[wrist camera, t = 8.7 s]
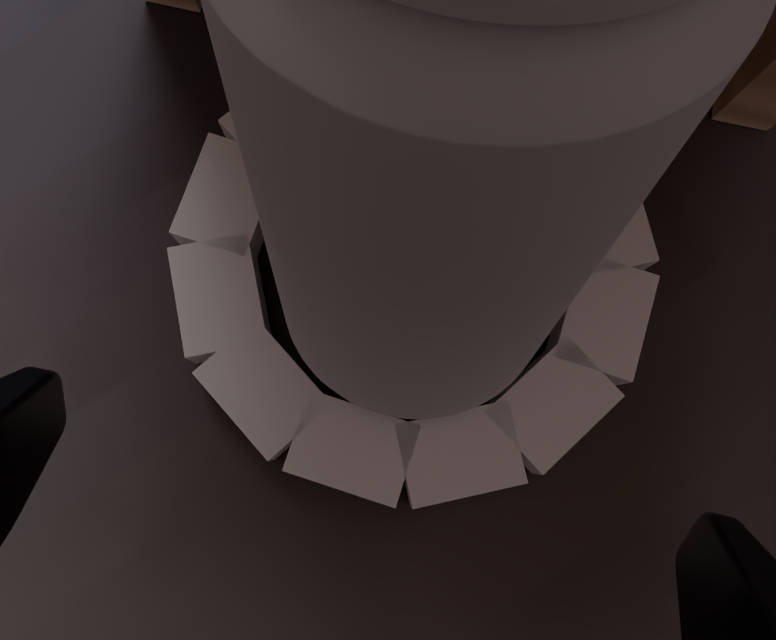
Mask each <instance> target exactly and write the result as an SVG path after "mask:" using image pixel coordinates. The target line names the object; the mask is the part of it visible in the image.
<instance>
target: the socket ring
mask: <svg viewBox="0 0 776 640" xmlns="http://www.w3.org/2000/svg"><path fill="white" fill-rule="evenodd" d="M218 122H219V124H220V126H221V128H222V130H223V132H224V135H225V137H226V138H225V137H222V136H218V135H215V134H212V133H208V135H207V138H206V140H205V143H204V145H203V148H202V150H201V153H200V155H199V158H198V160H197V163H196V165H195V168H194V170H193V173H192V175H191V177H190V180H189V182H188V185H187V187H186V190H185V192H184V195H183V197H182V200H181V202H180V205H179V207H178V210H177V212H176V215H175V217H174V220H173V222H172V225H171V227H170V230H169V233H170V234H171V235H172V236H173V237H174V238H175V239H176V240H177V241H178V242H179V244H180V245H178V246H173V247H168V248H167V252H168V258H169V264H170V270H171V277H172V283H173V289H174V295H175V301H176V307H177V313H178V319H179V326H180V332H181V338H182V344H183V350H184V356H185V358H186V359H188V360H191V361H193V362H195V363H197V364H198V363H202V362H204V363H203V364H201V365H200V366H199V367H198V368H197V369H196V370H194V371H193V372H192V374H193V375H194V376H195V377H196V378H197V380H198V381H199V382H200V383H201V384H202V385H203V387H204V388H205V389H206V390H207V391H208V392H209V394H210V395H211V396H212V397H213V398H214V399H215V401H216V402H217V403H218V404H219V405H220V406H221V408H222V409H223V410H224V411H225V412H226V413H227V415H228V416H229V417H230V418H231V419H232V420H233V422H234V423H235V424H236V425H237V426H238V427H239V429H240V430H241V431H242V432H243V433H244V434H245V436H246V437H247V438H248V439H249V440H250V441H251V443H252V444H253V445H254V446H255V447H256V448H257V450H258V451H259V452H260V453H261V454H262V455H263V457H264V458H265V459H266V460H267V461H272V460H275V459H276V458H277V457H278V456H280V455H281V454H282V453H283V452H284V451H285V450H286V449H287V448H289V447H290V449H289V451H288V454H287V457H286V460H285V463H284V466H283V469H282V471H284V472H287V473H290V474H293V475H296V476H299V477H302V478H305V479H308V480H311V481H314V482H317V483H320V484H323V485H326V486H329V487H332V488H335V489H338V490H341V491H344V492H347V493H350V494H353V495H356V496H359V497H362V498H365V499H368V500H371V501H374V502H377V503H380V504H383V505H386V506H389V507H392V508H395V509H396V505H397V502H398V499H399V496H400V493H401V489H402V486H403V483H404V481H405V485H406V490H407V495H408V499H409V504H410V506H411V507H412V509H417V508H421V507H426V506H430V505H434V504H439V503H443V502H448V501H452V500H457V499H461V498H465V497H470V496H474V495H479V494H483V493H488V492H492V491H497V490H501V489H505V488H510V487H514V486H519V485H523V484H528V480H527V476H526V471H525V467H526V468H527V469H528V470H529V471H530V472H531V473H534V474H539V475H544V474H545V473H546V472H547V471H548V470H549V469H550V468H551V467H552V466H553V465H554V464H555V463H556V462H557V461H558V460H559V459H560V458H562V457H563V456H564V455H565V454H566V453H567V452H568V451H569V450H570V449H571V448H572V447H573V446H574V445H575V444H576V443H577V442H578V441H579V440H580V439H581V438H582V437H583V436H584V435H585V434H586V433H587V432H588V431H589V430H590V429H591V428H592V427H593V426H594V425H596V424H597V423H598V422H599V421H600V420H601V419H602V418H603V417H604V416H605V415H606V414H607V413H608V412H609V411H610V410H611V409H612V408H613V407H614V406H615V405H616V404H617V403H618V402H619V401H620V400H621V399H622V398H623V397H624V396H625V395H624V394H623V393H622V392H621V391H620V390H619V389H618V388H617V387H616V386H617V385H621V384H626V383H631V382H633V380H634V376H635V372H636V368H637V364H638V360H639V356H640V353H641V349H642V345H643V341H644V337H645V333H646V329H647V325H648V321H649V317H650V313H651V309H652V305H653V302H654V298H655V294H656V290H657V286H658V282H659V278H660V276H659V275H656V274H653V273H650V272H647V271H643V270H645V269H646V268H648V267H650V266H651V265H653V264H655V263H656V262H658V261H659V256H658V253H657V249H656V246H655V242H654V239H653V236H652V232H651V229H650V225H649V222H648V218H647V215H646V212H645V208H644V205H643V203H642V205H641V206H640V207H639V209H638V210H637V212H636V213H635V214H634V216H633V217H632V219H631V220H630V221H629V223H628V224H627V226H626V227H625V228H624V230H623V231H622V233H621V234H620V235H619V237H618V238H617V240H616V241H615V242H614V244H613V245H612V247H611V248H610V249H609V251H608V252H607V254H606V255H605V256H604V258H603V259H602V261H601V262H600V263H599V265H598V266H597V268H596V269H595V270H594V272H593V273H592V275H591V276H590V277H589V279H588V280H587V282H586V283H585V284H584V286H583V287H582V289H581V290H580V291H579V293H578V294H577V296H576V297H575V298H574V300H573V301H572V303H571V304H570V305H569V307H568V308H567V310H566V311H565V312H564V314H563V315H562V317H561V318H560V319H559V321H558V322H557V324H556V325H555V326H554V328H553V329H552V331H551V332H550V335H549V338H548V342H547V345H546V349H545V351H544V352H543V353H542V354H541V355H540V356H539V357H537V358H536V359H535V360H534V361H533V362H532V363H531V364H530V365H529V366H528V367H527V368H526V369H525V370H524V371H522V372H521V373H520V374H519V376H518V377H517V378H516V379H515V380H514V381H513V382H512V383H511V384H510V385H509V386H508V387H507V388H505V389H504V390H503V391H502V392H501V393H499V394H498V395H497V396H496V397H495V398H494V399H493V400H491V401H490V402H489V403H488V404H487V405H483V406H478V407H475V408H473V409H470V410H468V411H465V412H462V413H459V414H456V415H452V416H447V417H441V418H434V419H418V420H413V421H409V422H408V421H405V420H402V419H399V418H395V417H391V416H386V415H382V414H378V413H375V412H372V411H369V410H367V409H364V408H362V407H359V406H357V405H355V404H353V403H350V402H347V401H344V400H340V399H337V398H334V397H331V396H328V395H325V394H323V393H322V392H321V391H320V390H319V388H318V387H317V386H316V385H315V384H314V383H313V382H312V381H311V379H310V378H309V377H308V376H307V375H306V374H305V373H304V371H303V370H302V369H301V368H300V367H299V366H298V365H297V364H296V362H295V361H294V360H293V359H292V358H291V357H290V356H289V354H288V353H287V352H286V351H285V350H284V349H283V348H282V347H281V345H280V344H279V343H278V342H277V341H276V340H275V339H274V338H273V336H272V334H271V329H270V324H269V318H268V313H267V308H266V302H265V297H264V291H263V286H262V281H261V275H260V270H259V265H258V259H257V257H258V254H259V251H260V249H261V246H262V243H263V241H264V237H263V233H262V230H261V226H260V222H259V218H258V215H257V211H256V207H255V203H254V200H253V196H252V192H251V188H250V185H249V181H248V177H247V173H246V170H245V166H244V162H243V158H242V155H241V151H240V147H239V143H238V140H237V136H236V132H235V128H234V125H233V121H232V117H231V113H230V111H229V112H228V113H226V114H225V115H224V116H222V117H221V118H220V119H219V120H218ZM524 466H525V467H524Z"/></svg>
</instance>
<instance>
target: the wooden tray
mask: <svg viewBox="0 0 776 640" xmlns="http://www.w3.org/2000/svg"><path fill="white" fill-rule="evenodd" d="M145 1H148V2H153V3H157V4H162V5H167V6H172V7H177V8H181V9H186V10H191V11H196V12H200V10H201V7H202V4H201V1H200V0H145ZM711 119H712V120H717V121H722V122H726V123H731V124H736V125H741V126H745V127H750V128H755V129H760V130H765V131H768V130H769V129H770V128H771V127H773V126H774V125H775V124H776V4H775V7H774V10H773V12H772V15H771V17H770V19H769V21H768V23H767V25H766V27H765V29H764V31H763V33H762V35H761V37H760V38H759V40H758V41H757V43H756V45H755V46H754V48H753V49H752V50H751V52H750V53H749V55H748V56H747V57H746V59H745V60H744V62H743V63H742V64H741V66H740V67H739V69H738V70H737V71H736V73H735V74H734V76H733V77H732V78H731V80H730V81H729V83H728V84H727V85H726V87H725V88H724V90H723V91H722V92H721V94H720V95H719V97H718V98H717V99H716V101H715V102H714V104H713V110H712V117H711Z"/></svg>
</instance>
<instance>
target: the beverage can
mask: <svg viewBox="0 0 776 640" xmlns="http://www.w3.org/2000/svg"><path fill="white" fill-rule="evenodd" d="M200 1H201V4H202V8H203V12H204V16H205V19H206V23H207V27H208V31H209V34H210V38H211V42H212V46H213V49H214V53H215V57H216V61H217V64H218V68H219V72H220V76H221V79H222V83H223V87H224V91H225V94H226V98H227V102H228V106H229V109H230V113H231V117H232V121H233V125H234V128H235V132H236V136H237V140H238V143H239V147H240V151H241V155H242V158H243V162H244V166H245V170H246V173H247V177H248V181H249V185H250V188H251V192H252V196H253V200H254V203H255V207H256V211H257V215H258V218H259V222H260V226H261V230H262V233H263V237H264V241H265V245H266V248H267V252H268V256H269V260H270V263H271V267H272V271H273V275H274V278H275V282H276V286H277V290H278V293H279V297H280V301H281V305H282V308H283V312H284V316H285V320H286V323H287V327H288V330H289V333H290V336H291V338H292V341H293V343H294V345H295V347H296V348H297V350H298V352H299V354H300V356H301V357H302V359H303V360H304V362H305V363H306V364H307V366H308V367H309V368H310V369H311V370H312V372H313V373H314V374H315V375H316V376H317V377H318V379H320V380H321V381H322V382H323V383H324V384H325V385H327V386H328V387H329V388H331V389H332V390H333V391H335V392H336V393H338V394H339V395H341V396H342V397H343V398H345V399H346V400H348V401H350V402H351V403H353V404H355V405H357V406H359V407H362V408H364V409H367V410H369V411H372V412H375V413H378V414H382V415H386V416H391V417H396V418H403V419H434V418H441V417H447V416H452V415H456V414H459V413H462V412H465V411H468V410H470V409H473V408H475V407H477V406H479V405H481V404H483V403H485V402H487V401H488V400H490V399H492V398H493V397H495V396H496V395H498V394H499V393H501V392H502V391H503V390H504V389H505V388H507V387H508V386H509V385H510V384H511V383H512V382H513V381H514V380H515V379H516V378H517V377H518V376H519V374H520V373H521V372H522V371H523V370H524V368H525V367H526V366H527V364H528V363H529V361H530V360H531V359H532V357H533V356H534V354H535V353H536V352H537V350H538V349H539V347H540V346H541V345H542V343H543V342H544V340H545V339H546V338H547V336H548V335H549V333H550V332H551V331H552V329H553V328H554V326H555V325H556V324H557V322H558V321H559V319H560V318H561V317H562V315H563V314H564V312H565V311H566V310H567V308H568V307H569V305H570V304H571V303H572V301H573V300H574V298H575V297H576V296H577V294H578V293H579V291H580V290H581V289H582V287H583V286H584V284H585V283H586V282H587V280H588V279H589V277H590V276H591V275H592V273H593V272H594V270H595V269H596V268H597V266H598V265H599V263H600V262H601V261H602V259H603V258H604V256H605V255H606V254H607V252H608V251H609V249H610V248H611V247H612V245H613V244H614V242H615V241H616V240H617V238H618V237H619V235H620V234H621V233H622V231H623V230H624V228H625V227H626V226H627V224H628V223H629V221H630V220H631V219H632V217H633V216H634V214H635V213H636V212H637V210H638V209H639V207H640V206H641V205H642V203H643V202H644V200H645V199H646V198H647V196H648V195H649V193H650V192H651V191H652V189H653V188H654V186H655V185H656V184H657V182H658V181H659V179H660V178H661V177H662V175H663V174H664V172H665V171H666V170H667V168H668V167H669V165H670V164H671V163H672V161H673V160H674V158H675V157H676V156H677V154H678V153H679V151H680V150H681V149H682V147H683V146H684V144H685V143H686V142H687V140H688V139H689V137H690V136H691V135H692V133H693V132H694V130H695V129H696V127H697V126H698V125H699V123H700V122H701V120H702V119H703V118H704V116H705V115H706V113H707V112H708V111H709V109H710V108H711V106H712V105H713V104H714V102H715V101H716V99H717V98H718V97H719V95H720V94H721V92H722V91H723V90H724V88H725V87H726V85H727V84H728V83H729V81H730V80H731V78H732V77H733V76H734V74H735V73H736V71H737V70H738V69H739V67H740V66H741V64H742V63H743V62H744V60H745V59H746V57H747V56H748V55H749V53H750V52H751V50H752V49H753V48H754V46H755V45H756V43H757V41H758V40H759V38H760V37H761V35H762V33H763V31H764V29H765V27H766V25H767V23H768V21H769V19H770V17H771V15H772V12H773V10H774V7H775V4H776V0H200Z"/></svg>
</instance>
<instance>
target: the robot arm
mask: <svg viewBox="0 0 776 640" xmlns="http://www.w3.org/2000/svg"><path fill="white" fill-rule="evenodd" d="M65 423H66V410H65V402H64V394H63V387H62V380H61V377H60V376H59V374H58V373H56V372H54V371H50V370H45V369H41V368H36V367H25V368H23V369H20V370H18V371H15V372H13V373H11V374H9V375H6V376H4V377H2V378H0V546H1V545H2V543H3V542H4V540H5V538H6V537H7V535H8V534H9V532H10V531H11V529H12V527H13V526H14V524H15V522H16V520H17V518H18V517H19V515H20V513H21V511H22V509H23V507H24V505H25V504H26V502H27V500H28V498H29V496H30V494H31V492H32V490H33V488H34V486H35V484H36V483H37V481H38V479H39V477H40V475H41V473H42V471H43V469H44V467H45V465H46V463H47V462H48V460H49V458H50V456H51V454H52V452H53V450H54V448H55V446H56V444H57V442H58V441H59V439H60V437H61V435H62V433H63V430H64V427H65ZM676 577H677V589H678V601H679V613H680V625H681V637H682V640H776V559H775V558H774V557H773V556H772V555H771V554H770V553H769V552H768V551H767V550H766V549H765V548H764V547H763V546H762V544H761V543H760V542H759V541H758V540H757V539H756V538H755V537H754V536H753V535H752V534H751V533H750V532H749V531H748V530H747V529H746V528H745V527H744V526H743V524H742V523H740V522H739V521H738V520H737V519H735V518H733V517H730V516H725V515H720V514H716V513H711V512H706V513H704V514H702V515H700V517H699V518H698V519H697V521H696V522H695V524H694V525H693V527H692V528H691V530H690V532H689V533H688V535H687V536H686V538H685V539H684V541H683V542H682V544H681V545H680V547H679V549H678V552H677V555H676Z"/></svg>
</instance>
